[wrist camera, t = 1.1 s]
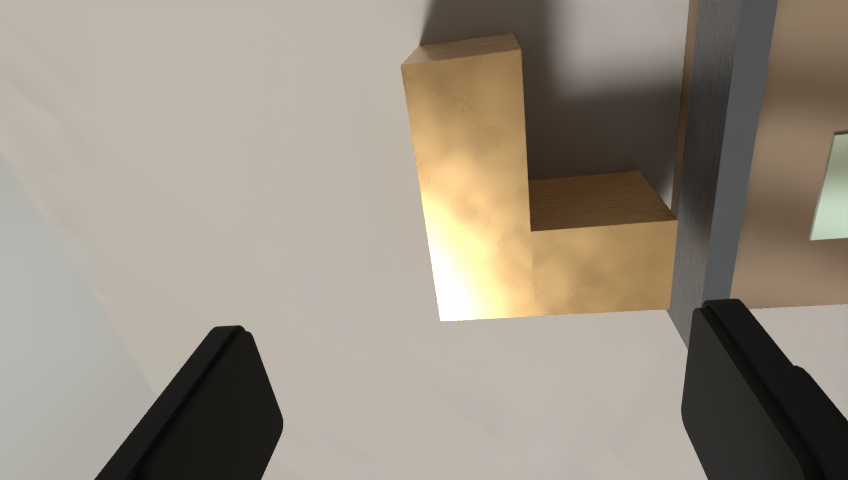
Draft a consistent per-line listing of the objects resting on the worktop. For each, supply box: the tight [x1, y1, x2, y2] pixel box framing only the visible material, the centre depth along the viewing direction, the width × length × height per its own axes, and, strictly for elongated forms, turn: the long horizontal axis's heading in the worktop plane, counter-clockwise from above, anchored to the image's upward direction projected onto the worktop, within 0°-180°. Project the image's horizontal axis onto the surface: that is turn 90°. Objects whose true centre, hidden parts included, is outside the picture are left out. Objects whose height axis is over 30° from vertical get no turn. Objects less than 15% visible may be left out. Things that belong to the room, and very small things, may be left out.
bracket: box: [401, 33, 678, 321], centre depth 23 cm, size 12×10×6 cm
